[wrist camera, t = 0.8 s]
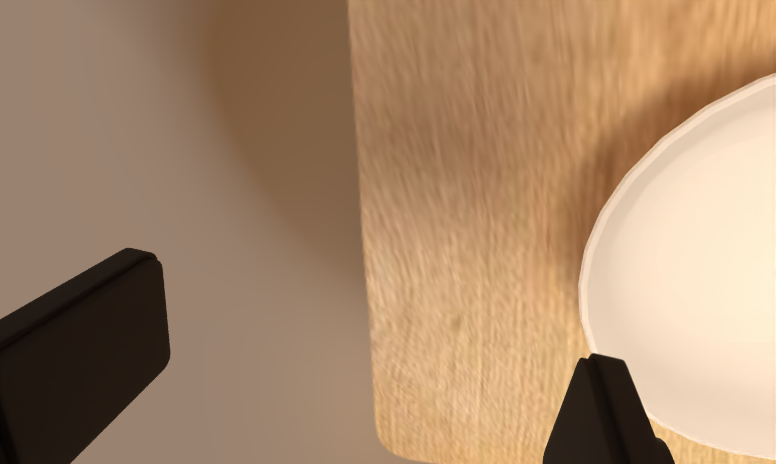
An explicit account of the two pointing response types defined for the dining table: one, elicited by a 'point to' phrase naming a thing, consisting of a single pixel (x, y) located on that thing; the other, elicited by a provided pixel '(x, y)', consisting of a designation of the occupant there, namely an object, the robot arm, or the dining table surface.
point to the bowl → (695, 275)
